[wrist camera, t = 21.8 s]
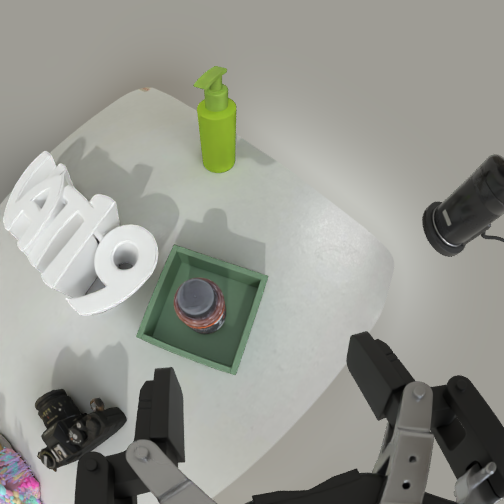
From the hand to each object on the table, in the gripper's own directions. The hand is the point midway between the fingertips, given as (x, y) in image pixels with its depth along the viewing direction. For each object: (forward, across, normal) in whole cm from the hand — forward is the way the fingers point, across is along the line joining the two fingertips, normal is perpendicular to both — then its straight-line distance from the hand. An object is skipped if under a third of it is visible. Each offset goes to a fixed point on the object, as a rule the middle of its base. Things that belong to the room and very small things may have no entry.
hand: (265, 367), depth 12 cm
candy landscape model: (+2, +52, +38) cm, 65 cm away
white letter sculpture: (+36, +25, +5) cm, 44 cm away
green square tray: (+26, +4, +15) cm, 30 cm away
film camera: (+15, +28, +26) cm, 41 cm away
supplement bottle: (+25, +4, +14) cm, 29 cm away
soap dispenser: (+45, -1, -4) cm, 45 cm away
